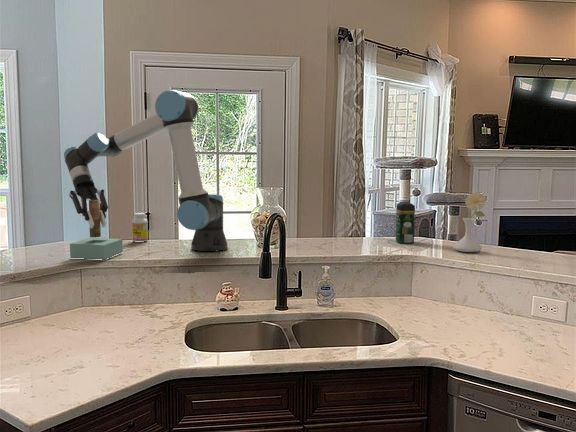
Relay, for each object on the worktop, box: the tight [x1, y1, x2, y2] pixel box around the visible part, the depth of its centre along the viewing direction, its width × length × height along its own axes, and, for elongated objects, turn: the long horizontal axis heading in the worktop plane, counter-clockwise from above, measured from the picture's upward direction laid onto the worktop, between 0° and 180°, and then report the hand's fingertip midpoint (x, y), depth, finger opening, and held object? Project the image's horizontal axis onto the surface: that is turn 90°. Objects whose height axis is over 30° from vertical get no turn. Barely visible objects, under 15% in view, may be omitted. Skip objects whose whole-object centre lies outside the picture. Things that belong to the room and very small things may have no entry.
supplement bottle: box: [131, 212, 149, 242], centre depth 244 cm, size 7×7×13 cm
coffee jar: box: [395, 201, 416, 245], centre depth 246 cm, size 10×8×19 cm
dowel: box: [88, 199, 102, 238], centre depth 209 cm, size 4×4×14 cm
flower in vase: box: [453, 191, 487, 253], centre depth 224 cm, size 13×11×25 cm
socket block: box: [69, 237, 124, 260], centre depth 210 cm, size 14×14×6 cm
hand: (98, 225), depth 206 cm, fingers closed on dowel, 4 cm apart
